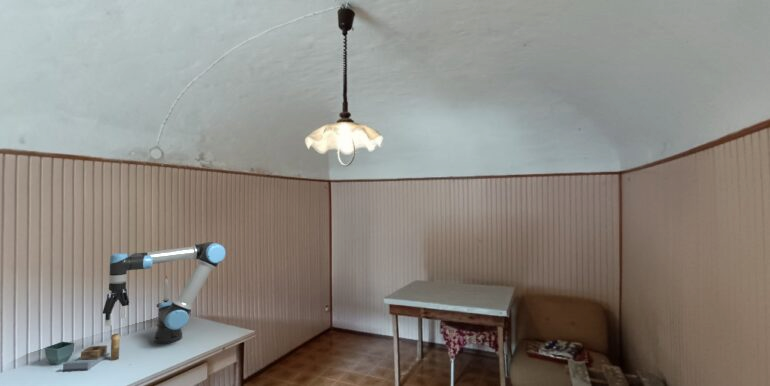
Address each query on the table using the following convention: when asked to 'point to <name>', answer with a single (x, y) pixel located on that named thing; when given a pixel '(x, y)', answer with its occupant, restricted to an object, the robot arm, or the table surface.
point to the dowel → (115, 346)
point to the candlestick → (165, 293)
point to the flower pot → (59, 352)
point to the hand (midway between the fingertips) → (115, 321)
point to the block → (93, 352)
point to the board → (82, 364)
